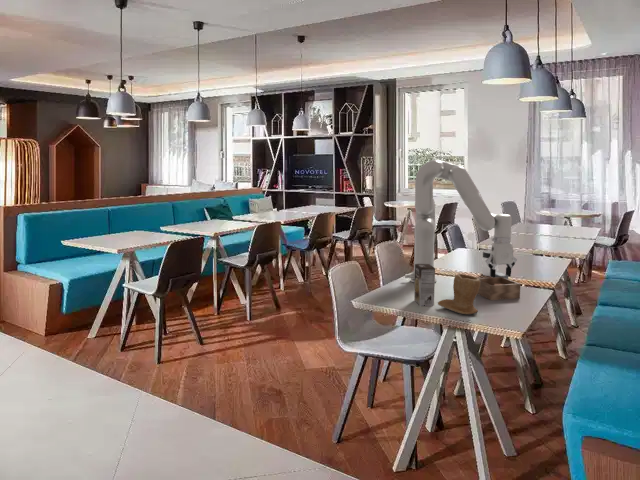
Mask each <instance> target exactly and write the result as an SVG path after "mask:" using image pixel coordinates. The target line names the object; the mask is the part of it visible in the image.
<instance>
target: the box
mask: <svg viewBox="0 0 640 480" xmlns="http://www.w3.org/2000/svg"><path fill="white" fill-rule="evenodd" d="M478 279H479V280H480V287H479V290H478V293H477V295H479V296H481V297H483V298H484V299H487V300H489V301H498V300H510V299H511V300H512V299H520V298H521V283H519V282H517V281H515V280H514V281H513V280H511V279H509V278H508V279H506V278H503V277H494V278H492V277H481V278H480V277H479V278H478ZM495 283H501V284H504V285H494V284H495Z"/></svg>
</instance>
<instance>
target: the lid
mask: <svg viewBox="0 0 640 480" xmlns="http://www.w3.org/2000/svg"><path fill="white" fill-rule="evenodd" d="M495 277H503V278H506V279H509V276H508V275H506V273H502V272H498V273H495ZM491 278H493V277H491Z"/></svg>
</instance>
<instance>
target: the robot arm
mask: <svg viewBox="0 0 640 480" xmlns="http://www.w3.org/2000/svg"><path fill="white" fill-rule="evenodd" d="M435 178H437V179H441V180H445V181H449V182H451V183H452V185H453V187H454V188H455V189H456V192H457V193H458V195H459V196H460V198H461V200H462V201H463V203H464V204H465V206H466V207H467V208H468V209H469V211H470V213H471V215H472V216H473V219H474V220H475V222H476V223H477V225H478V227H479V228H480V229H481V230H482V231H485V232H488V231H491V230H493V229H494V230H493V231H494V233H493V237H492V238H491V241H492V244H491V249H490V251H491V254H490V257H489V258H488V259H487V260H485V262H486V264H487V265H488V267H489V268H490V276H489V277H490V278H492V277H493V278H494V277H495V272H496V270H495V267H496V265H498V266H499V265H501V266H502V265H506V267H505V275H508V278H509V277H511V276H512V269H513V268H514V266H515V265H516V263H517V262H518V258H516V257H515V256H514V248H513V247H514V246H513V243H512V242H511V238H512V219H513V218H512V216H511V214H506V213H499V214H496V213H491V211H490V210H489V207H488V206H487V205H486V203H485V201H484V199H483V196H482V194H481V192H480V190H479V189H478V187H477V186H476V184H475V182H474V180H473V179H472V177H471V176H470V174H469V172H468V171H467V169H466V168H465V167H464V166H462V165H458V164H454V163H450V162H447V161H444V160H440V159H431V160H429V161H427V162H425V163H424V164H422V165H421V166H420V167H419V169H418V170H417V173H416V175H415V179H414V180H415V181H414V183H415V184H414V209H415V224H414V250H413V252H414V255H413V256H414V262H413V271H412V272H411V273H406V274H404V278H405V279H410V282H412V283H414V284H415V264H430V265H431V266H433V267H434V268H435V266H434V265H435V264H434V263H435V229H436V202H435V199H434V180H435ZM490 262H491V264H490ZM436 282H437V278H435V283H436Z"/></svg>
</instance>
